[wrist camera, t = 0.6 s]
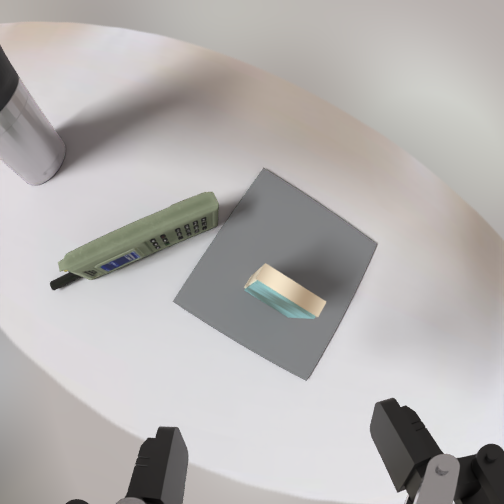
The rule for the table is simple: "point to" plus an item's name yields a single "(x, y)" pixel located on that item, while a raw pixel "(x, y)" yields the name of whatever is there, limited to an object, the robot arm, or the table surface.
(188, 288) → the mat
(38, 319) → the table surface
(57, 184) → the table surface
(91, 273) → the brick cell phone
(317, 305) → the tile
